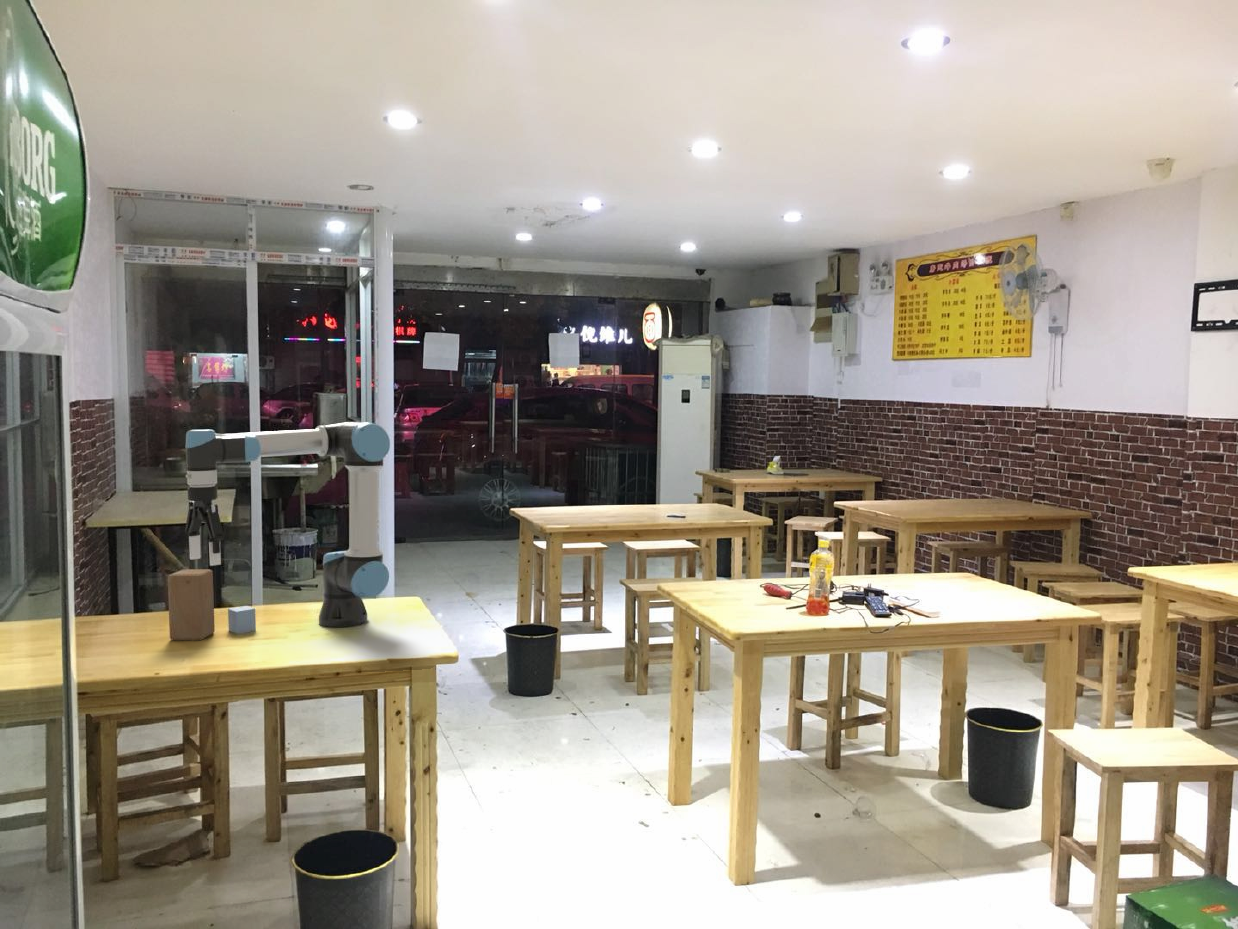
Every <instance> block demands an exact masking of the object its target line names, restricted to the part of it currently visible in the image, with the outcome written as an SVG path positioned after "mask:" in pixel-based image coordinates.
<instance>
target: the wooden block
mask: <svg viewBox="0 0 1238 929" xmlns="http://www.w3.org/2000/svg"><path fill="white" fill-rule="evenodd" d="M213 572H214V571H213V570H212V569H209V568H207V569H205V568H204V569H203V568H202V569H201V568H200V569H199V568H196V569H193V568H192V569H189V568H188V569H186V568H185V569H180V570H178V571H176V572H173V573H171V574H168V576H167V592H168V593H167V594H168V595H167V597H168V619H169V620H168V621H169V622H168V623H169V638H170V641H171V640H172V641H202V640H204V639H205V638H207V637H209V636H210V635H213V634H214V633H215V627H216V626H215V603H214V602H215V601H214V600H215V599H214V573H213Z"/></svg>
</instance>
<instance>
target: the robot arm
mask: <svg viewBox="0 0 1238 929" xmlns="http://www.w3.org/2000/svg"><path fill="white" fill-rule="evenodd" d="M390 448H391V441H390V436H389V434H388V433H387V431H386V430H385V429H384V427H382V426H380V425H379V424H376V423H373V422H370V421H369V422H367V421H363V422H362V421H344V422H339V423H333V424H326V425H317V426H316V427H315V429H314V428H313V429H312V428H311V429H296V430H295V429H293V430H277V431H276V430H274V431H272V430H271V431H257V432H238V433H237V432H236V433H216V431H215V430H214V429H190V430H187V432H186V435H185V455H186V458H185V459H186V474H185V478H186V479H187V480H186V481H187V482H186V484H187V485H188V488H187V500H188V511H187V517H186V523H185V524H186V525H185V528H184V532H185V533H186V534H187V536H188V546H189V560H199V559H201V557H202V556H201V555H202V554H201V532H200V529H201V526H202V524H203V523H204V526H205V528H206V531H207V534H208V537H209V539H208V541H207V542H208V548H209V550H208V551H209V552H208V553H209V566H211V567H213V566H219V565H221V564H222V561H221V560H222V557H221V554H222V552H221V541H222V540H224V539H225V535H224V531H223V527H222V523H221V518H220V515H219V506H218V504H213V502H212V501H214V500H217V499H218V486H216V485H217V484H218V470H217V464H225V463H226V464H228V463H249V462H256V461H257V460H258V459H259V458H266V457H280V456H281V457H282V456H283V457H284V456H285V457H286V456H296V455H297V456H298V455H310V454H311V455H312V454H317V455H318V456H319V457H338V458H344V467H345V468H346V470H348V472H349V509H348V510H349V515H348V516H349V522H348V523H349V526H348V528H349V535H348V536H349V540H348V541H349V543H348V544H349V545H348V546H349V547H348V549H347V550H339V551H333V552H327V553H324V555H323V559H322V570H323V572H322V573H323V574H322V575H323V576H322V578H323V602H322V606H321V609H320V611H319V615H318V624H319V625H320V626H322V627H329V628H330V627H331V628H344V627H345V628H346V627H347V628H348V627H354V626H359V625H362V624H365V623H367V622H368V612H367V609H366V606H365V603H364V600H363V598H366V599H371V598H375V597H377V596H379V595H381V594H382V592H384V590H385V589H386V588H387V587H388V584H389V580H390V572H389V570H388V567H386V565H385V563H384V562H383V559H384V557H383V556H384V555H383V554H384V553H383V552H382V550H381V549H379V543H378V542H379V540H378V539H379V538H378V537H379V529H378V528H379V471H380V470H381V469H382V468H384V458H385V457H386V455H388V454H389V452H390Z"/></svg>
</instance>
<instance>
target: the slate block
mask: <svg viewBox="0 0 1238 929" xmlns="http://www.w3.org/2000/svg"><path fill="white" fill-rule="evenodd" d="M227 619H228V632H230V633H233V634H237V635H238V634H239V635H240V634H245V633H246V634H247V633H251V632H256V631H257V629H256V628H257V624H256V621H257V620H256V608H254V607H252V606H249V605H243V606H237V607H231V608H227Z"/></svg>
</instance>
